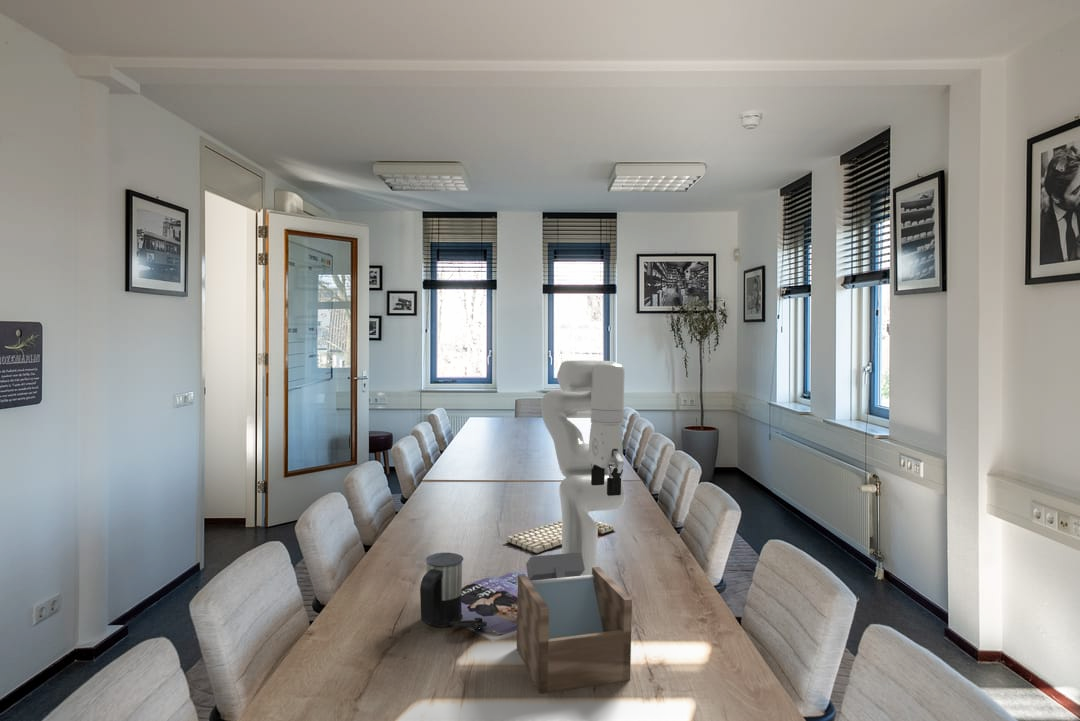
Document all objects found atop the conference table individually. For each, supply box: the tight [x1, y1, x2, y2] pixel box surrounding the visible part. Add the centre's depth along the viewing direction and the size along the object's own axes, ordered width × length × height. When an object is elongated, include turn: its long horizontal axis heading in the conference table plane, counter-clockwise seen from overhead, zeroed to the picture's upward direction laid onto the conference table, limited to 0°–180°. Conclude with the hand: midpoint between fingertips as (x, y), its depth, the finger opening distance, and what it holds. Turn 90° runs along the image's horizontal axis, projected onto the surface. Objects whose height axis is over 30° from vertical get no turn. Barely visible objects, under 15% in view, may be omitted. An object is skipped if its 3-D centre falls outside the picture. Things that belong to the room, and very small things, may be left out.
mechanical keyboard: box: [505, 519, 616, 555], centre depth 214 cm, size 38×19×3 cm, turn 136°
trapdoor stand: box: [516, 566, 633, 694], centre depth 132 cm, size 18×19×16 cm
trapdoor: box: [525, 552, 603, 639], centre depth 138 cm, size 20×15×6 cm
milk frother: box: [419, 552, 488, 630], centre depth 149 cm, size 14×16×15 cm
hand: (605, 489), depth 146 cm, fingers open, 9 cm apart
